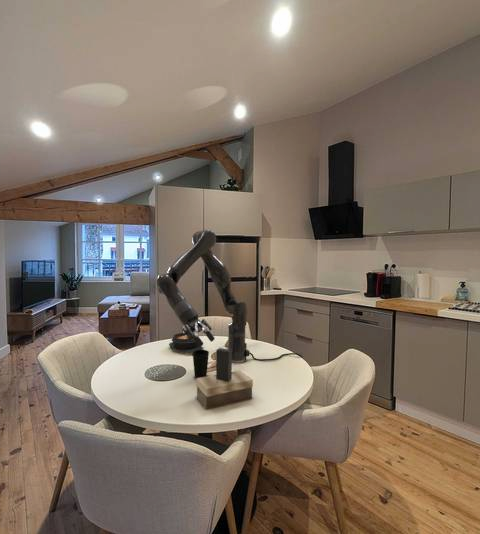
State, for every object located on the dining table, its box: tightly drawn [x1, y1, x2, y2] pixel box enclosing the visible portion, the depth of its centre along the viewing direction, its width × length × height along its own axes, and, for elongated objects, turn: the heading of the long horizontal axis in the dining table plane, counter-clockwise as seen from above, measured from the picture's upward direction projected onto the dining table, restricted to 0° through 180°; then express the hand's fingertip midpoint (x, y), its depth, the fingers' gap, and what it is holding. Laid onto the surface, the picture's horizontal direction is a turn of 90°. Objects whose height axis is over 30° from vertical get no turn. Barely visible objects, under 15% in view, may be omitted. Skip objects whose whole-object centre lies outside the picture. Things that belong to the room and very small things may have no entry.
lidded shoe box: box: [196, 369, 254, 410], centre depth 126 cm, size 20×11×8 cm, turn 116°
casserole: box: [168, 332, 204, 354], centre depth 189 cm, size 25×19×8 cm
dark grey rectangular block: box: [215, 347, 233, 382], centre depth 126 cm, size 3×6×12 cm, turn 61°
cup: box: [192, 349, 210, 380], centre depth 147 cm, size 8×8×12 cm
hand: (207, 342), depth 130 cm, fingers open, 8 cm apart
